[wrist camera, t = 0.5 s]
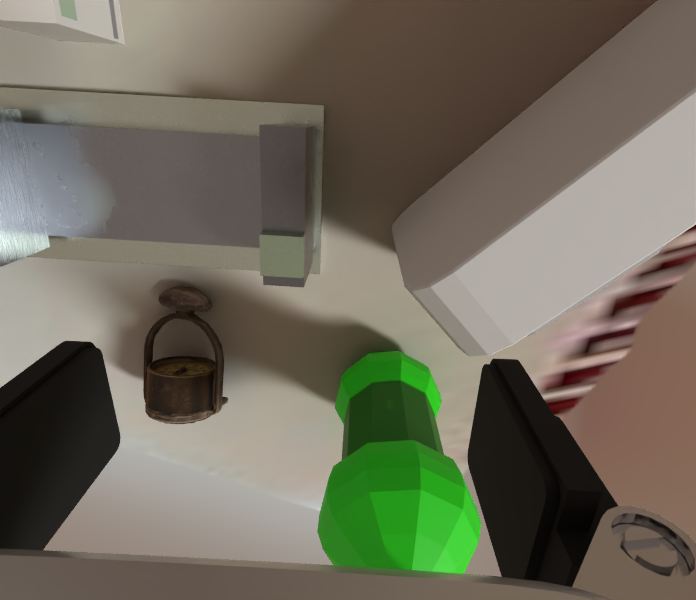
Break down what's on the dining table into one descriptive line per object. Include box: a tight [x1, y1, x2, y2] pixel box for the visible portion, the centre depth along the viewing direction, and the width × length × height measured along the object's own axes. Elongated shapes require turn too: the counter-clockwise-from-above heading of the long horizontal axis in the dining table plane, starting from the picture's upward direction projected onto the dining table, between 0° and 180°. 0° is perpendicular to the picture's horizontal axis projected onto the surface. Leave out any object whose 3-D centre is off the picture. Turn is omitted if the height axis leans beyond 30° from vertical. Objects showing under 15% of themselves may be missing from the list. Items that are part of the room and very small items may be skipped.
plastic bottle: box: [318, 351, 481, 574], centre depth 32 cm, size 10×10×25 cm
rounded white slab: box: [391, 0, 696, 356], centre depth 26 cm, size 29×8×18 cm, turn 131°
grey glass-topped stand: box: [0, 87, 325, 287], centre depth 33 cm, size 14×27×9 cm, turn 87°
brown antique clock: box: [144, 287, 228, 424], centre depth 40 cm, size 7×13×10 cm
